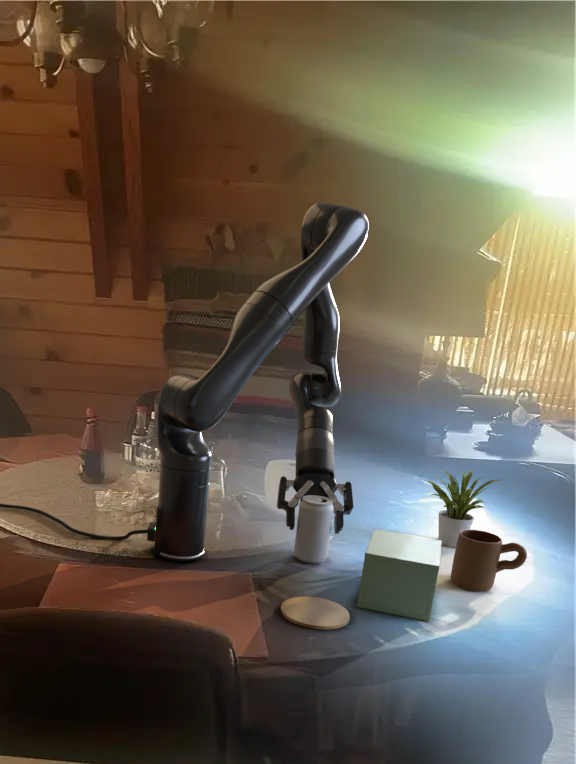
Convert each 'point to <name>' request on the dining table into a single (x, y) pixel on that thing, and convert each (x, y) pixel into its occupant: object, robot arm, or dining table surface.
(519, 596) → the dining table surface
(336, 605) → the coaster
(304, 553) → the beverage can
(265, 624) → the dining table surface
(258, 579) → the dining table surface
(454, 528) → the house plant
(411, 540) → the cabinet
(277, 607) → the dining table surface
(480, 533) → the mug
